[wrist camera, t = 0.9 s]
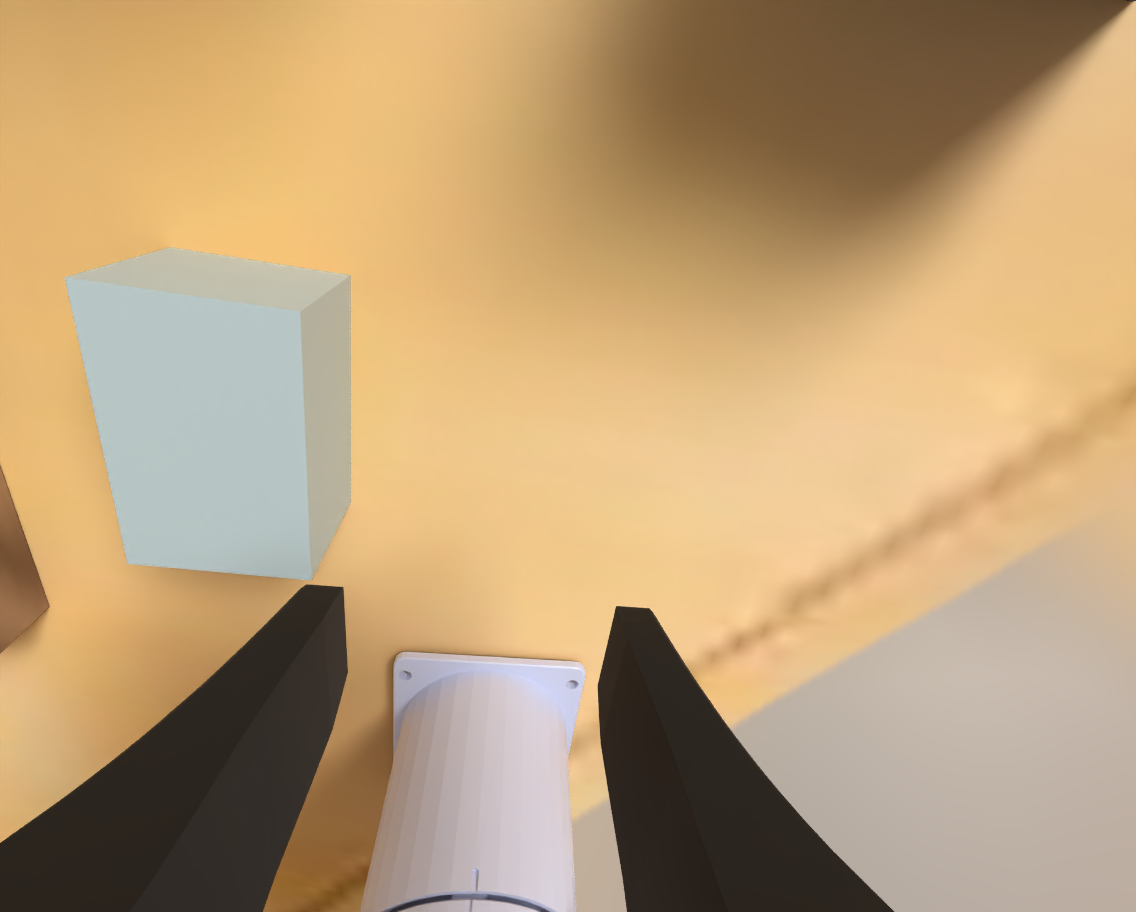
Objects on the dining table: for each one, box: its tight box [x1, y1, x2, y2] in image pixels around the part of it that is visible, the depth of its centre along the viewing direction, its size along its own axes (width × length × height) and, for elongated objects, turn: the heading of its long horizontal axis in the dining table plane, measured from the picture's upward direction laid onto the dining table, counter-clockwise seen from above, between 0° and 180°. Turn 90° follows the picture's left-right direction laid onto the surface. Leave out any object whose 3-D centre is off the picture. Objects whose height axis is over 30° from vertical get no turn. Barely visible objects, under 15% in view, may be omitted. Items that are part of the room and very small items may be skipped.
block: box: [65, 247, 351, 580], centre depth 17 cm, size 8×5×4 cm, turn 170°
